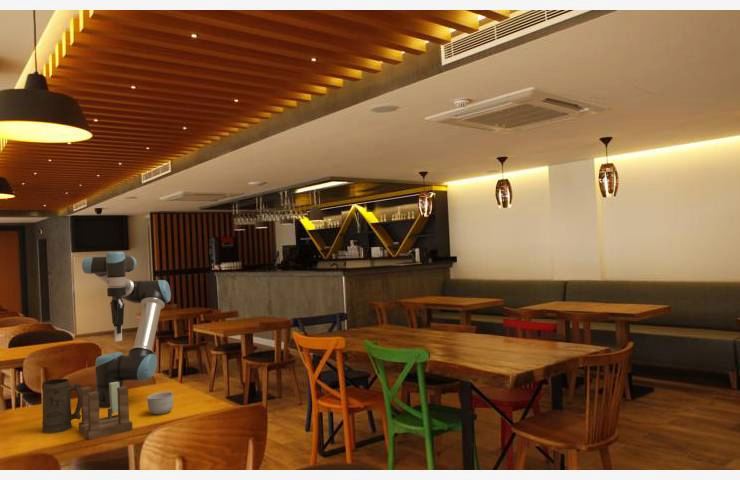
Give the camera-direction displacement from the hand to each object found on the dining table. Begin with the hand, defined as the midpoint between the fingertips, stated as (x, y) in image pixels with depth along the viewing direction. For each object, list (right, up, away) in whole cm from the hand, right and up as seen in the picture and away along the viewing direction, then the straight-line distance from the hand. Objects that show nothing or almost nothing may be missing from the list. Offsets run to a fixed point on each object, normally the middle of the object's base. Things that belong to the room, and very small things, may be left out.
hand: (118, 340), depth 252 cm
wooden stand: (+4, -32, -21) cm, 39 cm away
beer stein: (-15, -33, -16) cm, 40 cm away
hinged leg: (+5, -27, -13) cm, 31 cm away
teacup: (+18, -32, +2) cm, 37 cm away
